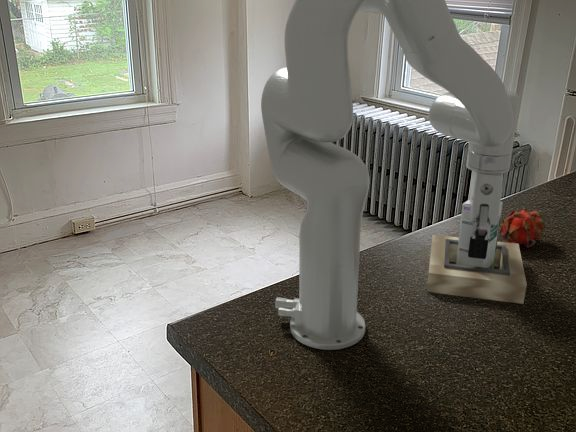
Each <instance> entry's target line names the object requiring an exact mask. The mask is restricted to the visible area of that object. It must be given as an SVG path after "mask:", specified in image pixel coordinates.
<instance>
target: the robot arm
mask: <svg viewBox="0 0 576 432" xmlns="http://www.w3.org/2000/svg"><path fill="white" fill-rule="evenodd" d="M358 12H364V13H372V14H381V15H383V16H384V18H385V19H386V21H387V23H388V25H389V27H390V29H391V31H392V33H393V34H394V37H395V39H396V41H397V43H398V45H399V47H400V49H401V51H402V53H403V55H404V57H405V60H406V62H407V63H408V64H409V66H410V67H411V68H412V69H413V70H414V71H416V72H417V73H418V74H420V75H421V76H423V77H424V78H426V79H427V80H428V81H430V82H432V83H434V84H435V85H438V86H440V87H441V88H442V89H444V90H446V91H447V92H445V93H443V94H441V95H439V96H438V97H437V98H435V99H434V100H433V102H432V103H431V105H430V108H429V110H428V120H429V123H430V125H431V127H432V128H433V129H434V130H435V131H437V132H438V133H440V134H442V135H445V136H447V137H450V138H452V139H453V138H454V139H457V140H461V141H465V142H468V147H467V154H466V155H467V156H466V164H465V166H466V168H467V169H468V170H470V171H471V179H470V187H469V198H468V199H469V202H470V222H471V223H472V224H473V232H472V237H470V244H469V251H468V257H470V258H479V259H485V258H486V255H487V248H488V241H489V239H488V233H489V225H490V224H489V223H491V225H494V226H496V225H497V224H498V217H499V208H500V200H501V199H502V191H503V184H504V183H503V181H504V180H503V179H504V174H506V173H508V172H510V169H511V162H512V161H511V160H512V156H513V148H514V141H515V135H516V131H517V130H516V128H517V123H518V118H519V109H520V97H519V95H518V94H517V93H516V92H514V91H512V90H508V89H506V87H505V84H504V82H503V80H502V79H501V77H500V76H499V74H498V73H497V72H496V70H495V69H494V68H493V66H491V65H490V64H489V62H487V61H486V60H485V59H484V58H483V57H482V56H481V55H480V53H478V51H476V50H475V49H474V48H473V47H472V46H471V45H470V44H469V43H468V42H467V41H465V40H464V39H463V37H462V36H461V35H460V33H459V31H458V28H457V26H456V23H455V21H454V19H453V16H452V15H451V11H450V9H449V7H448V5H447V2H446V0H295V1H294V3H293V5H292V7H291V9H290V12H289V14H288V17H287V20H286V24H285V29H284V52H285V62H286V63H285V66H284V67H282V68H281V67H280V68H279V69H278V70H277V69H276V71H275V72H273V73H272V74H271V75H270V76H269V78H268V79H267V81H266V83H265V84H264V87H263V90H262V93H261V102H260V103H261V104H260V107H261V110H260V111H261V116H262V122H263V123H262V124H263V130H264V135H265V140H266V141H265V142H266V145H267V151H268V156H269V161H270V166H271V169H272V173H273V174H274V176H275V179H276V180H277V181H278V183H280V185H282V186H283V187H284V188H285V189H287V190H289V191H291V192H293V193H294V194H296V195H297V196H299V197H300V198H302V199H303V200H305V201H306V202H307V208H306V212H305V214H304V216H303V219H302V220H301V223H300V228H299V235H298V236H299V238H298V240H299V243H298V246H299V252H298V253H299V256H298V257H299V263H298V264H299V265H298V266H299V267H298V268H299V272H298V275H299V276H298V277H299V281H298V282H299V283H298V284H299V287H298V289H299V293H298V295H299V296H298V297H299V298H298V297H297V298H296V297H294V299H292V298H291V299H290V298H285V297H279V296H276V298H275V302H274V307H275V309H278V310H277V315H278V316H279V317H280V316H281V317H291V318H290V322H289V327H290V333H291V334H292V337H293V338H294V339H296V340H297V342H299V343H300V344H302V345H305V346H307V347H310V348H313V349H318V350H324V351H332V350H333V351H334V350H336V351H337V350H342V349H345V348H348V347H351V346H354V345H355V344H358V342H360V341H361V340H362V339H363V337H364V336H365V333H366V322H365V319H364V317H363V316H362V315H361V313H359V312H358V311H357V309H358V292H359V291H358V290H359V289H358V288H359V268H360V249H361V248H360V247H361V231H362V230H361V229H362V223H363V222H362V221H363V220H362V219H363V213H364V209H365V205H366V201H367V197H368V195H369V191H370V190H369V189H370V181H371V179H370V173H369V170H368V167H367V165H366V164H365V162H364V161H363V159H361V158H360V157H359V156H358V155H357V154H355V153H354V152H353V151H351V150H349V149H347V148H345V147H342V146H340V145H337V144H336V143H334V142H337V141H339V140H342V139H343V138H345V137H346V136H347V134H348V132H349V131H350V130H351V129H352V128H351V127H352V124H353V120H354V102H353V101H354V100H353V92H352V82H351V73H350V72H351V71H350V64H349V35H350V30H351V29H350V28H351V25H352V24H353V21H354V19H355V16H356V15H357V13H358ZM501 201H502V200H501ZM479 210H480V211H479ZM487 215H488V216H489V218H488V221H487ZM476 217H477V218H476ZM476 219H479V222H476ZM476 226H479V228H478V229H477V230H476Z"/></svg>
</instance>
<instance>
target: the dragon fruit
mask: <svg viewBox="0 0 576 432" xmlns="http://www.w3.org/2000/svg"><path fill="white" fill-rule="evenodd" d="M545 223H546V222H545V218H544V217H543V216H542V215H541V213H540V212H539V211H537V210H532V211H529V210H528V209H527V208H525V207H523V208H522V210H521V211H517V210H513V211H511V212H510V213H509V214H508V215H507V216H506V217H505V218H504V219H503V220H502V223H501V227H500V228H499V234H501V237H502V238H503V240H504V241H505V240H506V242H507V243H517V244H519V245H524V247H526V248H527V249H528V248H531V247H533V246H534V245H535V243H536V242H537V241H536V240H539V241H540V240H544V239H545V238H546V235H545V234H544V232H543V231H545V230H546V229H547V226H546V224H545Z"/></svg>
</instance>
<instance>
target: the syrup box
mask: <svg viewBox="0 0 576 432" xmlns="http://www.w3.org/2000/svg"><path fill="white" fill-rule="evenodd" d="M502 210H503V200H500V208H499V217H498V224H497V225H496V226H494V225H491V223H489V224H490V225H489V233H488V239H489V241H488V248H487V255H486V258H485V259H479V258H470V257H468V251H469V244H470V237H472V232H473V224H472V223H471V222H470V202H469V198H468V199H467V200H466V201H465V202H463V203H462V206H461V212H460V213H461V214H460V215H461V216H460V222H459V232H458V237H459V240H458V250H457V259H456V262H455V264H457V265H466V266H475V267H483V268H492V269H495V267H494V263H495V256H496V248H497V242H499V241H498V240H499V234H500V224H501V217H502ZM479 211H480V210H479ZM476 218H477V217H476ZM488 218H489V216H488V215H487V221H488ZM476 222H479V219H476ZM478 228H479V226H476V230H477V229H478Z"/></svg>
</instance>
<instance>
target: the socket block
mask: <svg viewBox="0 0 576 432" xmlns="http://www.w3.org/2000/svg"><path fill="white" fill-rule="evenodd" d="M431 237H432V238H431V247H430V256H429V265H428V266H429V267H428V275H427V286H426V292H427V293H432V294H433V293H434V294H442V295H451V296H457V297H458V296H459V297H464V298H465V297H466V298H474V299H481V300H488V301H489V300H490V301H495V302H496V301H498V302H505V303H512V304H513V303H515V304H521V305H523V304H524V301H525V297H526V290H527V285H528V283H527V280H526V274H525V270H524V264H523V260H522V255H521V250H520V244H517V243H507V241H506V242H505V241H497V248H496V256H495V263H494V269H492V268H483V267H475V266H466V265H457V264H456V259H457V250H458V240H459V236H458V237H457V236H448V235H439V234H432V236H431ZM450 262H451V263H450ZM495 267H496V268H495Z"/></svg>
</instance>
